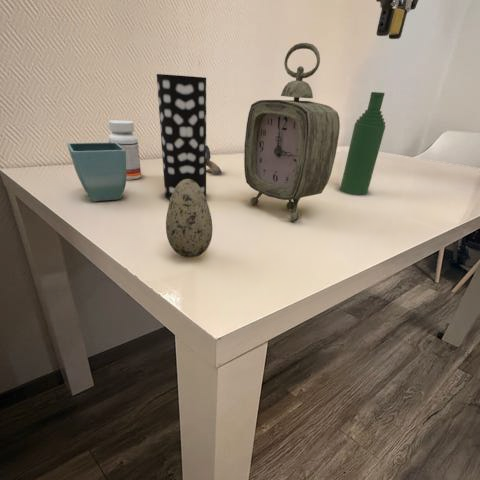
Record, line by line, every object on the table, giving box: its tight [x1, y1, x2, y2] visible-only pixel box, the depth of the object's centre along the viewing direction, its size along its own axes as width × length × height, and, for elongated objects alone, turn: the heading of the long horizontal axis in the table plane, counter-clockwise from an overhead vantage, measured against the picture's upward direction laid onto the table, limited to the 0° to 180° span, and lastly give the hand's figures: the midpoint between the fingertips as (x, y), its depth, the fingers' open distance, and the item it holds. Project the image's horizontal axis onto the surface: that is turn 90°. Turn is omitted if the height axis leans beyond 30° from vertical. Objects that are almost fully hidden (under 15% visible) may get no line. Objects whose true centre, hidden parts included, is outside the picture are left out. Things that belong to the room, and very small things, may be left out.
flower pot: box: [66, 142, 127, 202], centre depth 62 cm, size 9×9×9 cm
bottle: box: [339, 91, 386, 196], centre depth 74 cm, size 6×6×20 cm
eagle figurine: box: [206, 144, 223, 176], centre depth 86 cm, size 8×7×9 cm
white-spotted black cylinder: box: [156, 73, 207, 201], centre depth 62 cm, size 8×8×20 cm
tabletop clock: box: [243, 42, 341, 223], centre depth 57 cm, size 14×9×25 cm, turn 40°
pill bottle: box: [108, 119, 142, 181], centre depth 75 cm, size 6×6×11 cm
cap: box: [387, 7, 405, 36], centre depth 62 cm, size 4×4×3 cm
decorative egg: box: [165, 179, 213, 259], centre depth 42 cm, size 6×6×10 cm
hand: (388, 36), depth 63 cm, fingers closed on cap, 4 cm apart
